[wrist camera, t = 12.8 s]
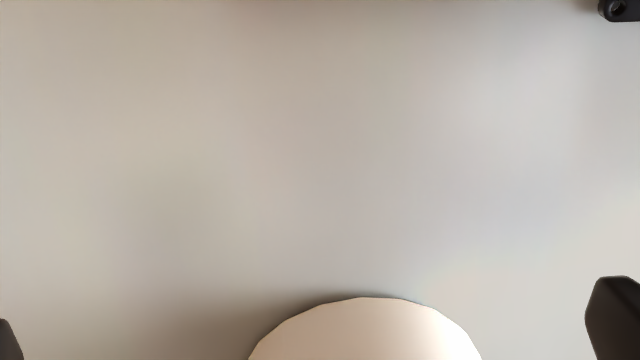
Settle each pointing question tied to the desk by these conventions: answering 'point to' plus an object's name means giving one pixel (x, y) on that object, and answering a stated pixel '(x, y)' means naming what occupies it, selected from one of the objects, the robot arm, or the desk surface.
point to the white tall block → (367, 333)
